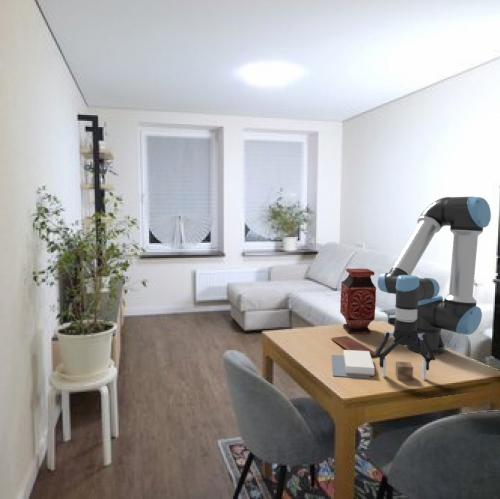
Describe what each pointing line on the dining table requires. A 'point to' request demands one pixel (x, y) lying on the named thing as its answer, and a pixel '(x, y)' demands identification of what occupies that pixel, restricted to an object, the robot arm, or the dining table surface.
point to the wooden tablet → (352, 344)
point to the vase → (358, 300)
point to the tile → (358, 362)
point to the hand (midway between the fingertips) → (403, 377)
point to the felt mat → (342, 368)
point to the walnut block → (404, 371)
